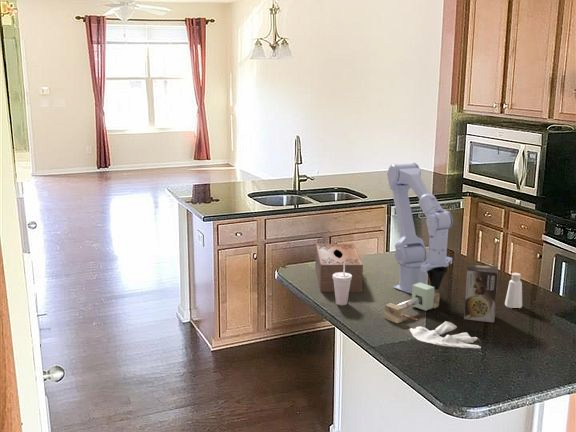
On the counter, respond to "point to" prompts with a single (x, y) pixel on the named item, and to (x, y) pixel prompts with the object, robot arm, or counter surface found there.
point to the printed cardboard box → (481, 293)
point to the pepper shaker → (514, 292)
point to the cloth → (450, 341)
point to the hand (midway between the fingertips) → (435, 288)
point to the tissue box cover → (338, 265)
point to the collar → (423, 295)
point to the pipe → (409, 303)
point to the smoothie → (342, 286)
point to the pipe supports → (398, 310)
